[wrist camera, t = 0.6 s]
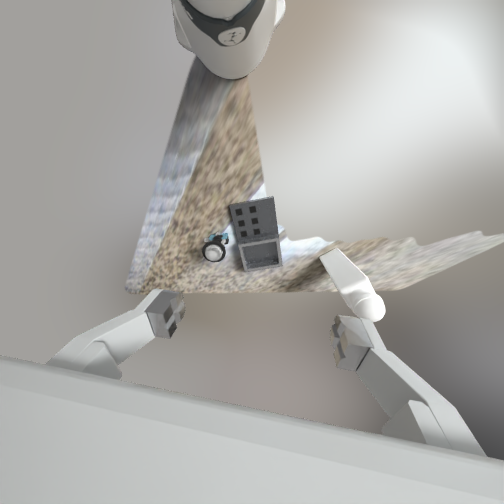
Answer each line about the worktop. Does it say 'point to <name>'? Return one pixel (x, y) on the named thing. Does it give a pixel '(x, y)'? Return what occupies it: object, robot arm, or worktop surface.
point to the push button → (215, 247)
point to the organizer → (257, 233)
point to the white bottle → (353, 286)
